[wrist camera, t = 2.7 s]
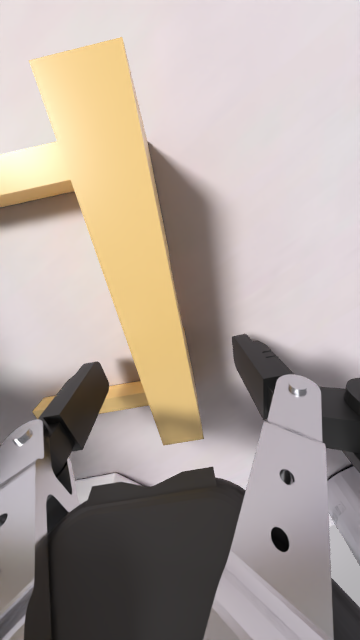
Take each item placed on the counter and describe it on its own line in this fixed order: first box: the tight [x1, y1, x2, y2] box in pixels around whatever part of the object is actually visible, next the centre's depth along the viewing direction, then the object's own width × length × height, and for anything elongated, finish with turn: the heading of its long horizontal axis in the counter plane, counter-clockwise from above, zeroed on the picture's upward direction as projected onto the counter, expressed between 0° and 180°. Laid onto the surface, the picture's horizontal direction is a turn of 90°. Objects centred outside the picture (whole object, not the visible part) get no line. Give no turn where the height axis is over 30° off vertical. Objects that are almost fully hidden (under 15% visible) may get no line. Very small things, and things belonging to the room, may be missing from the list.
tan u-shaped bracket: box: [0, 37, 204, 445], centre depth 9 cm, size 11×14×4 cm
